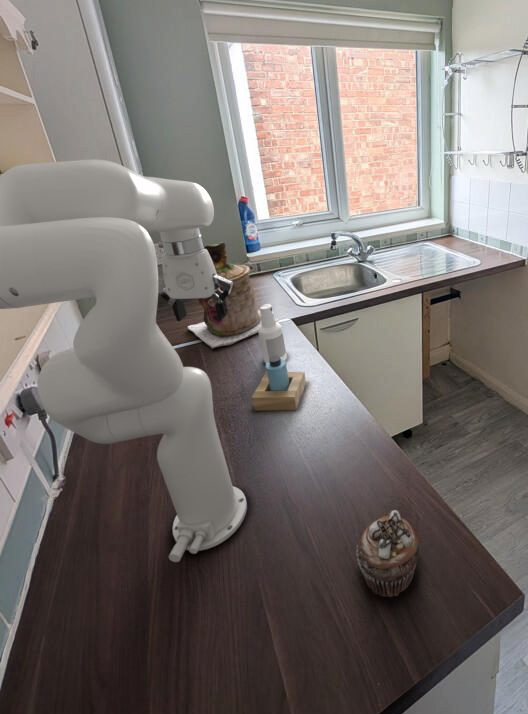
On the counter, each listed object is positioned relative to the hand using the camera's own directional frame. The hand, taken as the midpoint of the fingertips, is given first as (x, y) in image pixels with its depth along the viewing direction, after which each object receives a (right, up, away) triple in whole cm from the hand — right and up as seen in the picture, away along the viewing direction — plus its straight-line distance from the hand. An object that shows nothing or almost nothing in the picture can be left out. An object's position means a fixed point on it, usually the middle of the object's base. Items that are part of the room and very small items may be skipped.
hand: (202, 317), depth 92 cm
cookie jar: (-13, -8, +53) cm, 55 cm away
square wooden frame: (+15, -22, +14) cm, 30 cm away
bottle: (+15, -22, +14) cm, 30 cm away
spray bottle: (+8, -15, +31) cm, 35 cm away
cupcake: (+43, -38, -29) cm, 64 cm away
